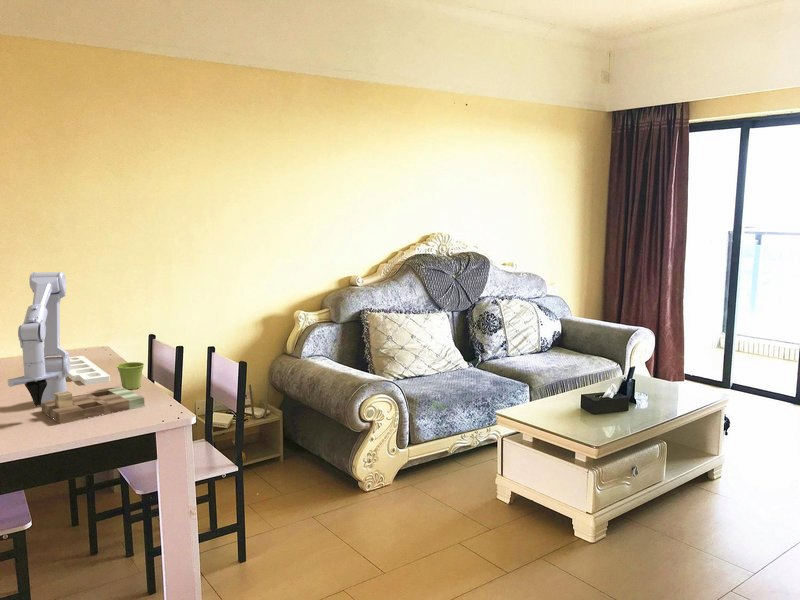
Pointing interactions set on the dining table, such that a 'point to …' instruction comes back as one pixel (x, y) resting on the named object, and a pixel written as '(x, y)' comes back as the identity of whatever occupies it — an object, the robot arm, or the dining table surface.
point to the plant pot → (130, 374)
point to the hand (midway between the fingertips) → (37, 404)
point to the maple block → (63, 399)
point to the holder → (86, 371)
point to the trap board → (94, 404)
